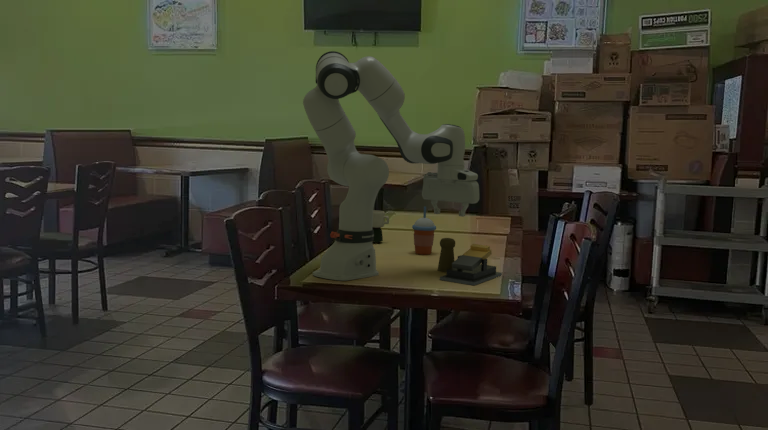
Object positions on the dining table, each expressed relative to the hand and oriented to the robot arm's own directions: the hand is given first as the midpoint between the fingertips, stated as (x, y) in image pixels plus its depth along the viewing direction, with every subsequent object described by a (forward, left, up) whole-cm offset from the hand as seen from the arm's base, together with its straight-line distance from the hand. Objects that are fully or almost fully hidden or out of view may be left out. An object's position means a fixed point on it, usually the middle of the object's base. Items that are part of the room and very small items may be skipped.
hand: (449, 215), depth 235 cm
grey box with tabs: (-5, -12, -19) cm, 23 cm away
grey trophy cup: (+31, +51, -19) cm, 63 cm away
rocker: (-5, -12, -13) cm, 19 cm away
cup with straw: (+23, +23, -19) cm, 38 cm away
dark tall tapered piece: (0, 0, -19) cm, 19 cm away
